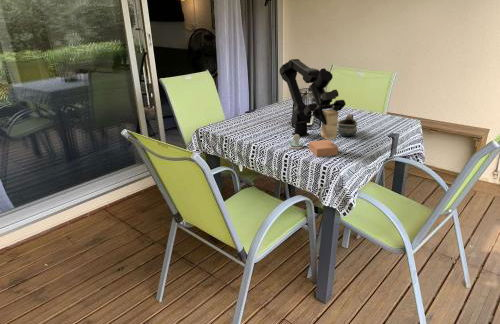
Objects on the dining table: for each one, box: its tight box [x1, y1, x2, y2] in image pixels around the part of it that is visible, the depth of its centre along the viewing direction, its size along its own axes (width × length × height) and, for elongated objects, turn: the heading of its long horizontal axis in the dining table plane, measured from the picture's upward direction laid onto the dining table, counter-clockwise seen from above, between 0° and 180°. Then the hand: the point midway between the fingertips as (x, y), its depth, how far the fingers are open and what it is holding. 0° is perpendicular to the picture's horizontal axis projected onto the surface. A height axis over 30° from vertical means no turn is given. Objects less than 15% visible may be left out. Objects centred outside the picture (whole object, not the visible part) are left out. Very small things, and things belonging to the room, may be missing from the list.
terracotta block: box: [308, 139, 339, 158], centre depth 167 cm, size 10×10×4 cm
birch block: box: [320, 109, 339, 140], centre depth 163 cm, size 5×5×12 cm
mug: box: [337, 113, 358, 138], centre depth 187 cm, size 10×12×10 cm
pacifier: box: [288, 134, 305, 150], centre depth 173 cm, size 7×6×6 cm
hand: (331, 123), depth 162 cm, fingers closed on birch block, 5 cm apart
